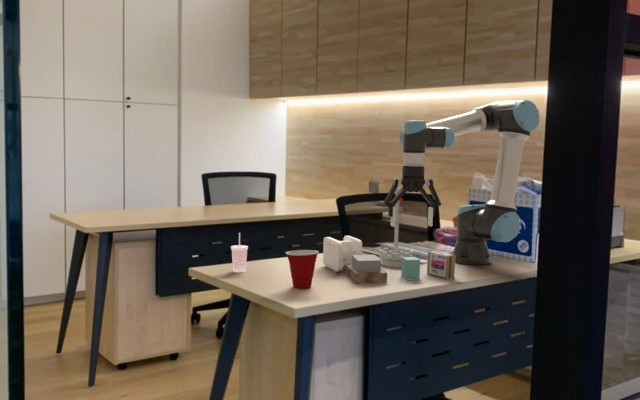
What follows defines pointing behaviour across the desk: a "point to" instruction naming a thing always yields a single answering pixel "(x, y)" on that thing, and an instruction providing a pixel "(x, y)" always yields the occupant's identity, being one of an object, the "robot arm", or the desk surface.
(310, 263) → the plastic cup
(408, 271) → the teal block
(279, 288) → the desk surface
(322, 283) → the desk surface
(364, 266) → the grey slab
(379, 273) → the walnut slab
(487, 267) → the desk surface
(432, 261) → the ink box
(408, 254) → the flag stand
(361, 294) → the desk surface
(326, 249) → the cable organizer
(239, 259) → the beverage cup
